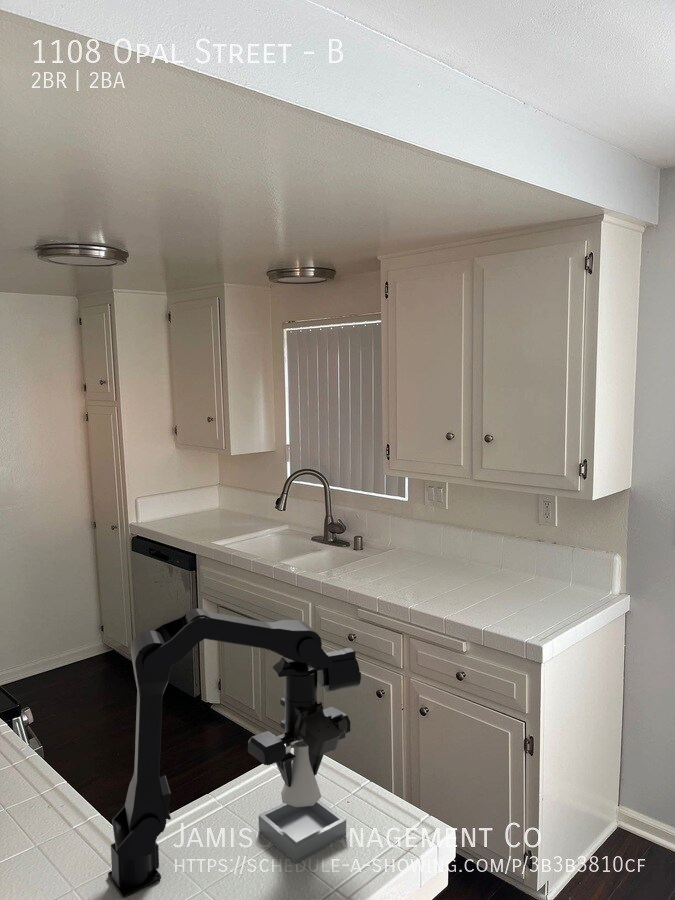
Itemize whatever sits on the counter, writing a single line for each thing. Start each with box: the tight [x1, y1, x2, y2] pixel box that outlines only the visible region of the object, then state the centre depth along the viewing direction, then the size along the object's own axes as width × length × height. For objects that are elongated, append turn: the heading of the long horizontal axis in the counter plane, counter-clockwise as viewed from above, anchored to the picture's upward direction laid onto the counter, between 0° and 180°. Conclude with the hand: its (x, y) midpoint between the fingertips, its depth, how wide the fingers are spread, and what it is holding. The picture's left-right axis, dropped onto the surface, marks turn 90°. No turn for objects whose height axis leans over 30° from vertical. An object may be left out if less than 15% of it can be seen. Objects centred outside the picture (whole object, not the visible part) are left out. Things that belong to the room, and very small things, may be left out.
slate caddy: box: [258, 799, 347, 865], centre depth 121 cm, size 11×11×3 cm
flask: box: [280, 740, 322, 807], centre depth 121 cm, size 7×7×10 cm
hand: (301, 780), depth 121 cm, fingers closed on flask, 5 cm apart
